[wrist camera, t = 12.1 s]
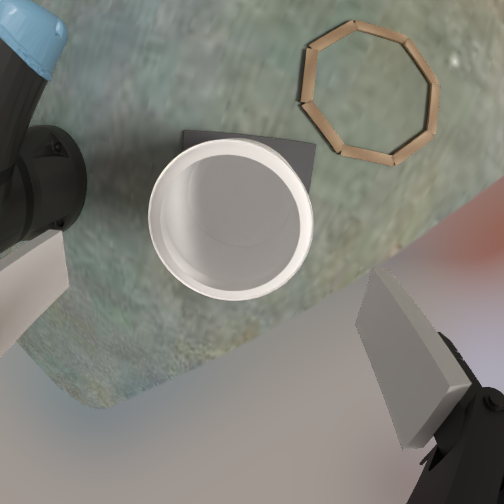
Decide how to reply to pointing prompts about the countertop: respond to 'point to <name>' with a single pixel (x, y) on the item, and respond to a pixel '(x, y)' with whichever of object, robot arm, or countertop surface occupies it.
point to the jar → (231, 219)
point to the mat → (291, 151)
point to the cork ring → (324, 124)
